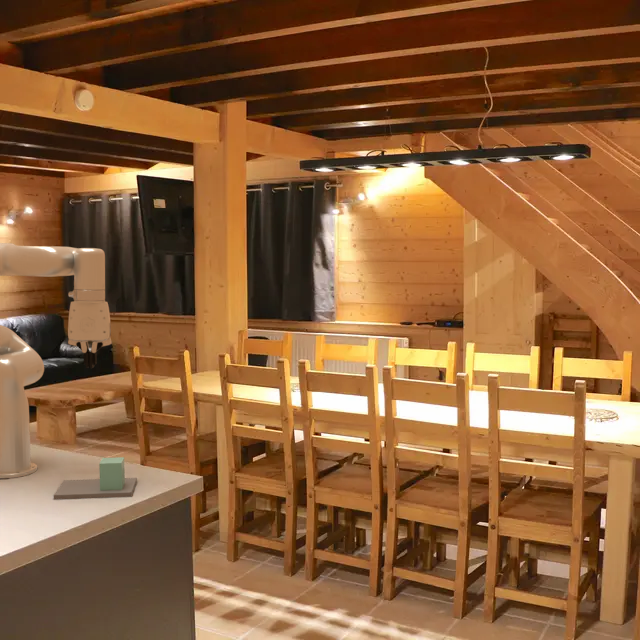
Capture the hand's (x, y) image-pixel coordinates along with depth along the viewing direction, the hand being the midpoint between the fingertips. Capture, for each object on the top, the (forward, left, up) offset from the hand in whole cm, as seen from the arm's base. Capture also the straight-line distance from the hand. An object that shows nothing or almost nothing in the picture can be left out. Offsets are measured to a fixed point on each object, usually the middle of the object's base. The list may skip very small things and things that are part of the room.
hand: (90, 367), depth 197 cm
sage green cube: (+7, -14, -28) cm, 32 cm away
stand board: (+3, -12, -29) cm, 31 cm away
